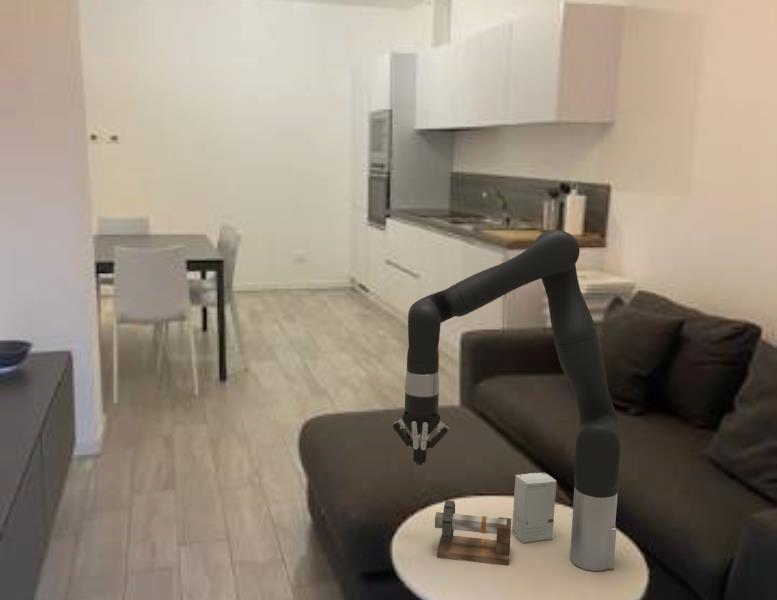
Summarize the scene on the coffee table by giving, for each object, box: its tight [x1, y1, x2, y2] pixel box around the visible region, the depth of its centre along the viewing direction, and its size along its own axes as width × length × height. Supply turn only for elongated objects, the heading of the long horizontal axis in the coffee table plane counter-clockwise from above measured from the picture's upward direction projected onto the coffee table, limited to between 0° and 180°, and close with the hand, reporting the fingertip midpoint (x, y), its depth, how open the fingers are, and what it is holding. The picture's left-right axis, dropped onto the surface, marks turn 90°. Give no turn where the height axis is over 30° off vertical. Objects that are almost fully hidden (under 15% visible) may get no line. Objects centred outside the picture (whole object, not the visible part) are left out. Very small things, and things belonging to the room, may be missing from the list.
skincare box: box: [511, 472, 557, 544], centre depth 183 cm, size 8×6×15 cm
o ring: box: [441, 499, 456, 542], centre depth 176 cm, size 2×9×9 cm, turn 169°
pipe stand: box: [434, 511, 512, 566], centre depth 175 cm, size 17×8×8 cm, turn 79°
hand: (419, 463), depth 174 cm, fingers closed
